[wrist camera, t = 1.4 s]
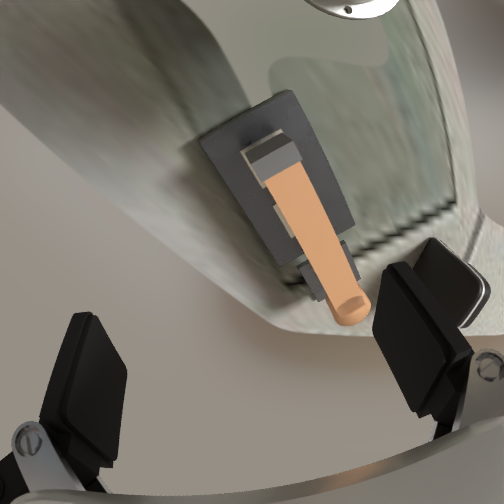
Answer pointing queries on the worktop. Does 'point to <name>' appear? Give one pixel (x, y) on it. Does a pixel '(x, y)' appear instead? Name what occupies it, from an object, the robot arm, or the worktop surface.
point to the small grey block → (314, 281)
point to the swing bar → (310, 225)
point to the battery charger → (452, 282)
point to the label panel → (256, 193)
